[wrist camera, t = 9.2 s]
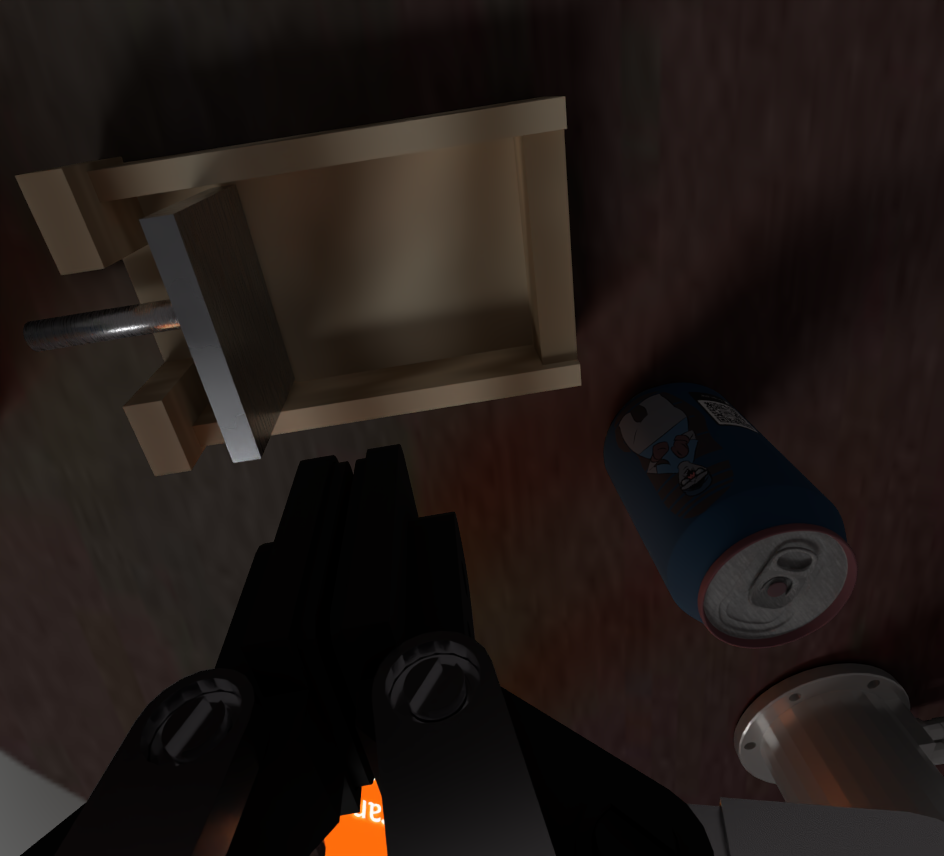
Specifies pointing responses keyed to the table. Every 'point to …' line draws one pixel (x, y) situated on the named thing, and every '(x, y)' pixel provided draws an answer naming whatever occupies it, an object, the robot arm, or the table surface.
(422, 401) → the wooden tray
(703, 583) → the soda can
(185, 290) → the follower
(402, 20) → the table surface
